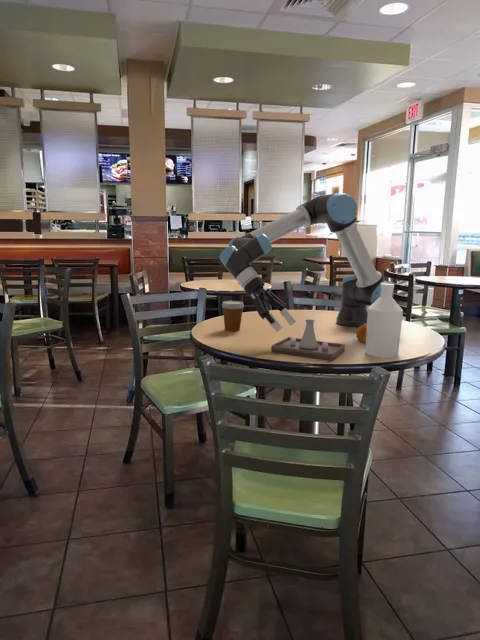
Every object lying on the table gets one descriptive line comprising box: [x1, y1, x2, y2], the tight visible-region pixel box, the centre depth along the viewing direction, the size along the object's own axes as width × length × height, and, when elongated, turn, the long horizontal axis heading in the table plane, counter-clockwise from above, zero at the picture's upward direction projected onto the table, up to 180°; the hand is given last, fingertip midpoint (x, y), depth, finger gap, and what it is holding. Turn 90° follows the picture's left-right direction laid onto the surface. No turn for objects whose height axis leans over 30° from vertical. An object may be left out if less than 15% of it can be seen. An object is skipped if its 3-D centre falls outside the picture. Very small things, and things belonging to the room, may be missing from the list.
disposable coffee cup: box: [221, 300, 245, 332], centre depth 200 cm, size 10×10×12 cm
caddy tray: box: [270, 336, 346, 362], centre depth 167 cm, size 16×22×4 cm
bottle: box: [364, 283, 404, 359], centre depth 165 cm, size 12×12×25 cm
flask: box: [299, 319, 319, 349], centre depth 166 cm, size 7×7×10 cm
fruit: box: [355, 323, 367, 344], centre depth 183 cm, size 8×8×8 cm
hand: (287, 326), depth 170 cm, fingers open, 13 cm apart
